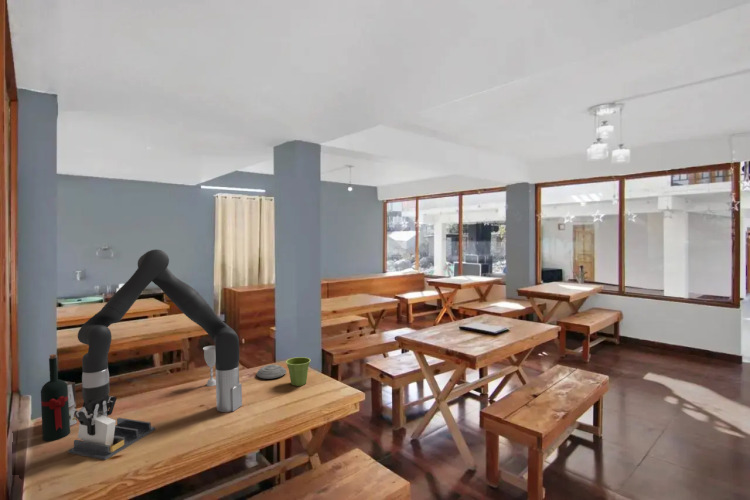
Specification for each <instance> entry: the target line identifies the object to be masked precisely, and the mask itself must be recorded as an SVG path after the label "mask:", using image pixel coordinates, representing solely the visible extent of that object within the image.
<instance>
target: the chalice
mask: <svg viewBox="0 0 750 500" xmlns="http://www.w3.org/2000/svg"><path fill="white" fill-rule="evenodd" d="M202 350H203V353H204V354H203V356H204V361H205V363H206V365H207V367H209V369H210V370H209V372H210V374H209V376H210V378H209V379H207V382H206V386H207V387H214V386H216V378H214V369H213V367H215V362H216V353H215V345H208V346H204V347H203V348H202Z"/></svg>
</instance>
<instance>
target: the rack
mask: <svg viewBox="0 0 750 500" xmlns="http://www.w3.org/2000/svg"><path fill="white" fill-rule="evenodd" d="M151 423H152V422H151V421H143V420H137V419H132V418H131V419H130V418H123V417H117V418H116V424H115V431H114V439H113V445H112V446H110V445H105V444H99V443H93V442H87V441H83V440H81V439H75V440H73V447H72V448H69V449H68V454H72V455H78V456H83V457H88V458H92V459H98V460H99V459H100V460H105V461H106V460H107V459H109V458H111V457H113V456H114V455H116V454H118V453H119V452H121V451H123V450H124V449H126V448H128V447H129V446H131V445H133V444H134V443H136V442H137V441H139V440H141V439H142V438H144V437H146V436H147V435H149V434H150V433H152V432H154V431H156V427H155V426H152V424H151Z"/></svg>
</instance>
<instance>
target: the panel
mask: <svg viewBox="0 0 750 500" xmlns="http://www.w3.org/2000/svg"><path fill="white" fill-rule="evenodd" d="M85 413H86V410H85ZM85 416H86V414H85ZM115 425H117V419H116V420H115V419H113V418H111V417H109V416H107V417H106V416H104V415H101V414H98V413H97V417H96V418H95V435H93V436H92V435H89V434H88V433H87V426H85V425H81V424H80V423H79V425H78V432H77V433H78V434H77V439H78V440H82V441H87V442H93V443H99V444H105V445H110V446H112V445H113V439H114V431H115Z"/></svg>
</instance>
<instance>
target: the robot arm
mask: <svg viewBox="0 0 750 500" xmlns="http://www.w3.org/2000/svg"><path fill="white" fill-rule="evenodd" d="M169 263H170V258H169V256H168V254H167V253H166V252H165V251H164V250H162V249H150V250H148V251H147V252H145V253H143V255H141V256H140V257H139V258H138V260H137V268H136V270H135V271H134V273H133V274H132V275H131V276H130V278H128V280H127V281H126V282H125V283H124V284H123V285H122V286H121V287H120V288H119V289H118V290H116V292H115V293H114V294H113V295H112V296H111V297H110V298H109V299H108V301H107V302H106V303H105V305H103V306H102V308H101V309H100V310H99V311H98V312H96V313H95V314H94V315H93V316H91V317H90V318H89V319H88V320H87V321H85V322H84V323H83V324H82V326H80V328H79V330H78V332H77V340H78V341H79V342H80V343H81V344H83V345H86V346H87V345H88V351H87V352H86V353H85V354H84V355H83V356H82V362H81V363H82V365H81V367H82V375H81V389H82V390H81V391H82V392H81V394H82V395H81V397H82V401H83V403H82V407H81V408H80V409H78V410H76V411H75V412H74V414H75V416H76V417H77V421H78V422H79V424H81V425H85V426H87V433H88V434H89V435H92V436H93V435H95V418H96V417H97V413H98V414H101V415H104V416H106V417H109V416H111V415H112V414H113V411H114V408H115V406H116V405H115V404H116V401H117V396H113V395H109V394H110V372H109V359H108V355H109V353H110V347H111V344H112V332H111V329H110V328H109V327H110V326H111V325H112V324H116V323H119V322H120V321H122V319H123V318H124V316H125V315H126V314H127V313H128V312H129V310H130V309H131V307H132V306H133V305H134V303H135V302H136V301H137V300H138V298H139V297H140V296H141V295H142V293H143V292H144V291H145V289H146V288H147V287H148V286H149V285H150V284H151V283H153V284H155V286H157V287H158V288H159V289H160V290H161V291H162V292H163V293H164V294H165V296H166V297H167V298H168V299H169V300H171V302H172V303H173V304H174V305H175V306H176V307H177V309H179V310H180V311H181V312H182V313H183V314H184V315H185V316H186V317H187V318H188V319H189V320H191V322H193V323H195V324H196V325H198V326H199V327H200V328H202V329H203V330H204V331H205V332H206V334H207V335H208V336H209V337H210V339H211V340H212V341H213V343H214V346H215V353H216V362H215V365H214V367H215V368H214V369H215V379H216V385H215V395H216V396H215V399H216V411H218V412H222V413H228V412H229V413H230V412H235V411H237V409H239V408H240V407H242V406H243V395H242V394H243V392H242V391H243V390H242V389H243V388H242V383H241V382H240V338H239V336H238V334H237V332H236V330H234V329H233V328H232V327H231V326H229V325H228V324H227V323H226V322H224V321H223V320H222V319H221V318H220V317H219V316H218V315H217V314H216V312H215V311H214V309H213V308H212V307H211V305H210V304H209V303H208V301H206V299H204V297H203V296H202V295H201V294H200V293H199V292H198V291H197V290H196V289H195V288H194V287H192V286H190V285H189V284H187V283H185V282H184V281H182V280H181V279H180V278H178V277H176V276H175V275H174V274H173V273H172V272H171V270H170V269H169V268H168V266H169ZM85 411H86V413H85ZM85 414H86V416H85Z"/></svg>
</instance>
